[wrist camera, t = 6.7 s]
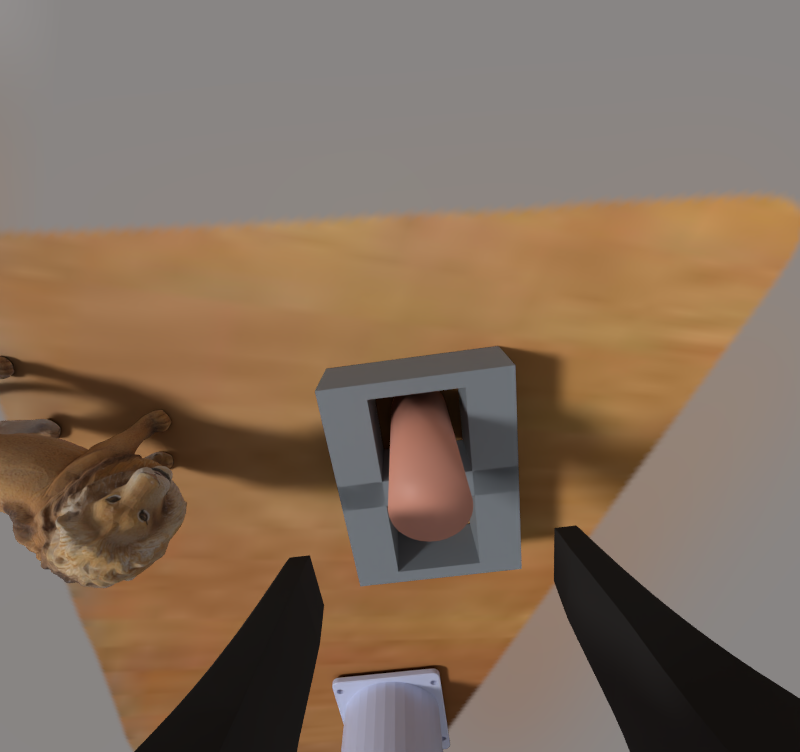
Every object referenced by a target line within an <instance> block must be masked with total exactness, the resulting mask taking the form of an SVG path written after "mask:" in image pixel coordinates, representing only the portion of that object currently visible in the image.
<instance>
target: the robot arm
mask: <svg viewBox="0 0 800 752" xmlns="http://www.w3.org/2000/svg"><path fill="white" fill-rule="evenodd" d="M554 582H555V585H556V588H557V590H558V593H559V596H560V599H561V602H562V604H563V607H564V610H565V612H566V615H567V618H568V620H569V622H570V624H571V626H572V628H573V630H574V632H575V635H576V637H577V639H578V641H579V643H580V645H581V647H582V649H583V651H584V653H585V655H586V657H587V660H588V661H589V664H590V665H591V668H592V670H593V672H594V674H595V676H596V678H597V680H598V682H599V684H600V686H601V688H602V690H603V692H604V694H605V696H606V698H607V701H608V703H609V705H610V706H611V709H612V711H613V713H614V715H615V717H616V720H617V722H618V724H619V726H620V729H621V731H622V733H623V735H624V738H625V740H626V743H627V745H628V748H629V750H630V752H800V698H798V697H796V696H795V695H793V694H792V693H790V692H789V691H787V690H785V689H784V688H782V687H781V686H779V685H777V684H776V683H774V682H773V681H771V680H770V679H768V678H767V677H765V676H763V675H762V674H760V673H759V672H757V671H755V670H754V669H753V668H751V667H750V666H748V665H747V664H745V663H744V662H742V661H741V660H739V659H738V658H736V657H735V656H733V655H732V654H730V653H729V652H727V651H726V650H725V649H723V648H722V647H721V646H719V645H718V644H716V643H715V642H714V641H712V640H711V639H709V638H708V637H707V636H705V635H704V634H703V633H701V632H700V631H698V630H697V629H696V628H695V627H693V626H692V625H691V624H689V623H688V622H687V621H685V620H684V619H683V618H681V617H680V616H679V615H678V614H677V613H675V612H674V611H673V610H672V609H670V608H669V607H668V606H666V605H665V604H664V603H663V602H661V601H660V600H659V599H658V598H656V597H655V596H654V595H653V594H652V593H650V592H649V591H648V590H647V589H646V588H645V587H643V586H642V585H641V584H640V583H639V582H638V581H637V580H635V579H634V578H633V577H632V576H631V575H630V574H629V573H627V572H626V571H625V570H624V569H623V568H622V567H620V566H619V565H618V564H617V563H616V562H615V561H614V560H613V559H612V558H611V557H610V556H608V555H607V554H606V553H605V552H604V551H603V550H602V549H601V548H600V547H599V546H598V545H596V544H595V543H594V542H593V541H592V540H591V539H590V538H589V537H588V536H587V535H586V534H585V533H584V532H583V531H582V530H581V529H580V528H578V527H577V526H568V527H559V528H555V535H554ZM323 609H324V604H323V600H322V597H321V593H320V590H319V586H318V583H317V579H316V576H315V572H314V569H313V565H312V562H311V558H310V556H301V557H292V558H289V559H288V560H287V562H286V563H285V565H284V566H283V568H282V569H281V571H280V572H279V574H278V575H277V577H276V578H275V580H274V581H273V583H272V584H271V586H270V587H269V588H268V590H267V591H266V593H265V594H264V596H263V597H262V599H261V600H260V602H259V603H258V604H257V606H256V607H255V609H254V610H253V611H252V613H251V614H250V616H249V617H248V618H247V620H246V621H245V623H244V624H243V625H242V627H241V628H240V630H239V631H238V632H237V634H236V635H235V636H234V638H233V639H232V640H231V641H230V643H229V644H228V645H227V647H226V648H225V649H224V651H223V652H222V653H221V654H220V656H219V657H218V658H217V660H216V661H215V662H214V663H213V665H212V666H211V667H210V668H209V670H208V671H207V672H206V673H205V674H204V676H203V677H202V678H201V679H200V681H199V682H198V683H197V684H196V685H195V686H194V688H193V689H192V690H191V691H190V692H189V693H188V694H187V696H186V697H185V698H184V699H183V700H182V701H181V703H180V704H179V705H178V706H177V707H176V708H175V709H174V710H173V711H172V712H171V714H170V715H169V716H168V717H167V718H166V719H165V720H164V721H163V722H162V723H161V724H160V725H159V726H158V728H157V729H156V730H155V731H154V732H153V733H152V734H151V735H150V736H149V737H148V738H147V739H146V740H145V741H144V742H143V743H142V744H141V745H140V746H139V747H138V748H137V749H136V750H135V751H134V752H297V748H298V742H299V737H300V733H301V728H302V724H303V719H304V715H305V710H306V705H307V701H308V696H309V692H310V687H311V683H312V678H313V673H314V669H315V664H316V659H317V655H318V650H319V645H320V637H321V629H322V619H323ZM332 688H333V691H334V694H335V697H336V701H337V704H338V707H339V710H340V714H341V717H342V720H343V723H344V730H343V739H342V749H341V752H443V749H447V748H449V747H450V740H449V733H448V726H447V720H446V713H445V707H444V700H443V693H442V687H441V680H440V673H439V671H438V670H437V669H434V668H431V669H421V670H411V671H401V672H391V673H381V674H371V675H361V676H351V677H340V678H336V679H334V681H333V685H332Z"/></svg>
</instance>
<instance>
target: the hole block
mask: <svg viewBox="0 0 800 752" xmlns="http://www.w3.org/2000/svg"><path fill="white" fill-rule="evenodd" d="M456 388H458V394H459V405H460V416H461V428H462V439H463V440H457V441H456V442H457V445H458V449H459V453H460V456H461V460H462V463H463V467H464V470H465V474H466V477H467V481H468V485H469V488H470V492H471V495H472V499H473V512H472V516H471V518H470V524H467V525H466V526H465V527H464V528H463V529H462V530H461V531H460V532H458V533H457V534H455V535H453V536H452V537H449V538H447V539H444V540H440V541H431V542H428V541H419V540H415V539H412V538H409V537H407V536H405V535H404V534H402V533H401V532H398V530H397V529H396V528H395V526H394V525H393V524H392V522H391V520H390V518H389V514H388V490H389V461H390V449H384V448H383V442H382V436H381V430H380V425H379V419H378V413H377V408H376V402H375V399H378V398H386V397H394V396H401V395H409V394H417V393H425V392H432V391H440V390H448V389H456ZM315 394H316V398H317V402H318V407H319V411H320V415H321V419H322V424H323V428H324V432H325V436H326V441H327V445H328V449H329V454H330V458H331V462H332V466H333V471H334V475H335V479H336V483H337V488H338V492H339V496H340V501H341V505H342V509H343V513H344V518H345V522H346V526H347V530H348V535H349V539H350V543H351V548H352V552H353V556H354V560H355V565H356V569H357V573H358V578H359V582H360V586H367V585H377V584H386V583H395V582H404V581H413V580H422V579H432V578H441V577H450V576H459V575H468V574H477V573H487V572H496V571H505V570H514V569H521V536H520V502H519V469H518V436H517V403H516V369H515V364H514V363H513V362H512V361H511V360H510V359H509V357H508V356H507V355H506V354H505V353H504V352H503V351H502V350H501V348H500V347H499V346H495V347H487V348H479V349H472V350H464V351H457V352H449V353H442V354H434V355H426V356H419V357H411V358H404V359H396V360H389V361H381V362H374V363H366V364H358V365H351V366H343V367H336V368H328V369H326V370H325V372H324V374H323V376H322V378H321V380H320V382H319V384H318V386H317V388H316V390H315Z"/></svg>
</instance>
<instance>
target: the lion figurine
mask: <svg viewBox="0 0 800 752" xmlns="http://www.w3.org/2000/svg"><path fill="white" fill-rule="evenodd" d="M13 373H14V370H13V365H12V363H11V362H10V361H9V360H8V359H6V358H4V357H1V356H0V379H5V378H8V377H10V375H12V374H13ZM170 424H171V420H170V418H169V416H168V415H167V414H166V413H165V412H164V411H163V410H156V411H153V412H151V413H148V414H146V415H144V416H143V417H141V418H140V419H139V420H138V421H137V422H136V423H135V424H134V425H133V426H132V427H130V428H129V429H127V430H125V431H123V432H122V433H120V434H118V435H116V436H113V437H112V438H110V439H108V440H106V441H103V442H100V443H98V444H96V445H94V446H92V447H91V448H90V449H89V450H88V449H86V448H83V447H81V446H78V445H76V444H73V443H71V442H68V441H65V440H62V439H58V437H59V436H60V432H61V428H60V427H59V426H58V425H57V424H56V423H54V422H53V421H50V420H47V419H36V420H15V421H0V512H3V513H6V514H8V515H9V516H10V518H11V520H12V522H13V532H14V535H15V538H16V540H17V541H18V542H19V543H20V544H22V545H24V546H26V548H27V549H28V550H29V551H31V552H34V553H36V558H37V559H38V560H40V561H41V567H42V568H43V569H50V570H51V572H53V573H54V574H56V575H58V576H59V577H60V578H62V579H63V580H64V581H65V582H66V583H75V582H77V583H79V584H80V585H81V586H84V587H94V588H107V587H110V586H112V585H114V584H115V583H117V582H120V581H122V580H126V581H129V580H132V579H134V578H135V577H136V576H137V575H139V574H140V573H141V572H143V571H144V570H145V569H147V568H148V567H150V566H151V565H152V564H153V563H154V562H155V561H156V560H158V559H159V558H161V557H162V556H163V555H164V554H165V552H166V549H167V546H168V543H169V541H170V539H171V538H172V537H173V536H174V534H175V533H176V532H177V531H178V529H179V528H180V526H181V525H182V522H183V520H184V517H185V514H186V506H187V502H185V501H184V499H183V497H182V495H181V493H180V490H179V488H178V487H177V485H176V484H175V483H174V482H173V481H172V480H171V479H172V471H171V470H170V468H171V467H172V466H173V457H172V456H171V455H169V454H167V453H164V452H156V453H153V454H151V455H149V456H147V457H145V458H143V459H142V457H141V456H140V455H135V454H134V453H135V451H136V450H137V448H138V446H139V445H140V444H141V443H142V441H143V440H145V439H146V438H148V437H150V436H152V435H153V434H154V433H155V432H164V431H166V430H167V429H168V428H169V426H170Z"/></svg>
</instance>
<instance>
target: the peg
mask: <svg viewBox="0 0 800 752" xmlns="http://www.w3.org/2000/svg"><path fill="white" fill-rule="evenodd" d="M472 512H473V499H472V495H471V492H470V488H469V485H468V481H467V477H466V474H465V470H464V467H463V463H462V460H461V456H460V453H459V449H458V445H457V442H456V438H455V435H454V431H453V428H452V424H451V420H450V417H449V413H448V410H447V406H446V403H445V400H444V397H443V396H442V394H441V393H440V392H439V391H432V392H425V393H417V394H409V395H401V396H395V397H394V399H393V402H392V406H391V432H390V461H389V490H388V514H389V518H390V520H391V522H392V524H393V525H394V526H395V528H396V529H397V530H398V531H400V532H401V533H402V534H404V535H405V536H407V537H409V538H412V539H415V540H419V541H428V542H431V541H440V540H444V539H447V538H449V537H452V536H453V535H455V534H457V533H458V532H460V531H461V530H462V529H463V528H464V527H465V526H466V525H467V523H468V522H469V520H470V518H471V516H472Z"/></svg>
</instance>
